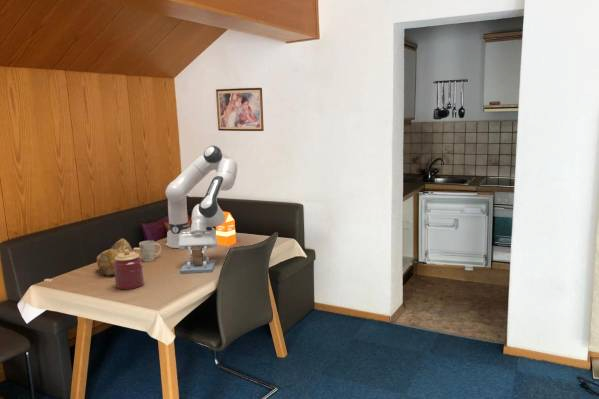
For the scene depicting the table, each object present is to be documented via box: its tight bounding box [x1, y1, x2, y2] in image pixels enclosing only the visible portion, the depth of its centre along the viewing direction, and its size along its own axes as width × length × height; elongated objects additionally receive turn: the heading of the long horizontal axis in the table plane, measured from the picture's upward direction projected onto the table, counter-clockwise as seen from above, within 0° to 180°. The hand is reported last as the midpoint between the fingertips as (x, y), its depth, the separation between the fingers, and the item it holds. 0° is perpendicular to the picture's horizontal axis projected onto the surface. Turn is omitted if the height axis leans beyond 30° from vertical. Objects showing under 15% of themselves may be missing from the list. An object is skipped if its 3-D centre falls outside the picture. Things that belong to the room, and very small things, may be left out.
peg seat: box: [179, 255, 217, 275], centre depth 263 cm, size 16×16×4 cm
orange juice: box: [215, 211, 237, 247], centre depth 306 cm, size 8×9×20 cm
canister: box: [113, 249, 145, 290], centre depth 240 cm, size 13×13×18 cm
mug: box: [138, 240, 162, 262], centre depth 282 cm, size 8×13×10 cm, turn 137°
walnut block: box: [191, 247, 204, 265], centre depth 262 cm, size 4×4×8 cm
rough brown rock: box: [96, 237, 134, 276], centre depth 265 cm, size 23×17×15 cm
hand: (197, 254), depth 262 cm, fingers closed on walnut block, 4 cm apart
